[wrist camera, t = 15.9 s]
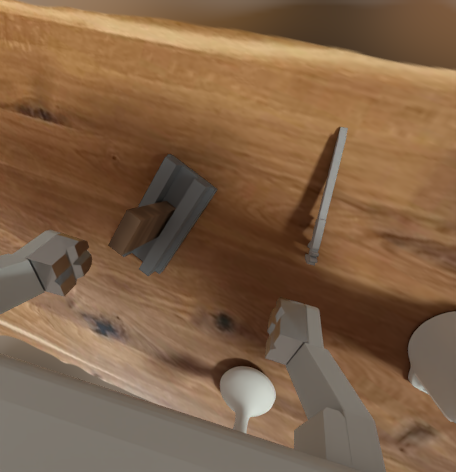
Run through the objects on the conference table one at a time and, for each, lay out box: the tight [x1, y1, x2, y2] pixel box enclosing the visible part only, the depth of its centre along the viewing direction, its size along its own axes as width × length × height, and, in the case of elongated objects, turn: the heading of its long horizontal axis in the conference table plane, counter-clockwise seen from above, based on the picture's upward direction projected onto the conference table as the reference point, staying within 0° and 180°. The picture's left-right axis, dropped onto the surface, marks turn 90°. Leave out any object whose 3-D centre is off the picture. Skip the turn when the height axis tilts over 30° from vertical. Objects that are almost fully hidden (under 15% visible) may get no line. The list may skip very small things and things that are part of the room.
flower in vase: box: [220, 366, 276, 433], centre depth 38 cm, size 13×11×25 cm
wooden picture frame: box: [109, 201, 176, 256], centre depth 38 cm, size 3×6×11 cm, turn 145°
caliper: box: [305, 127, 348, 265], centre depth 35 cm, size 20×1×6 cm, turn 171°
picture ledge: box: [122, 154, 218, 276], centre depth 43 cm, size 10×20×4 cm, turn 145°
